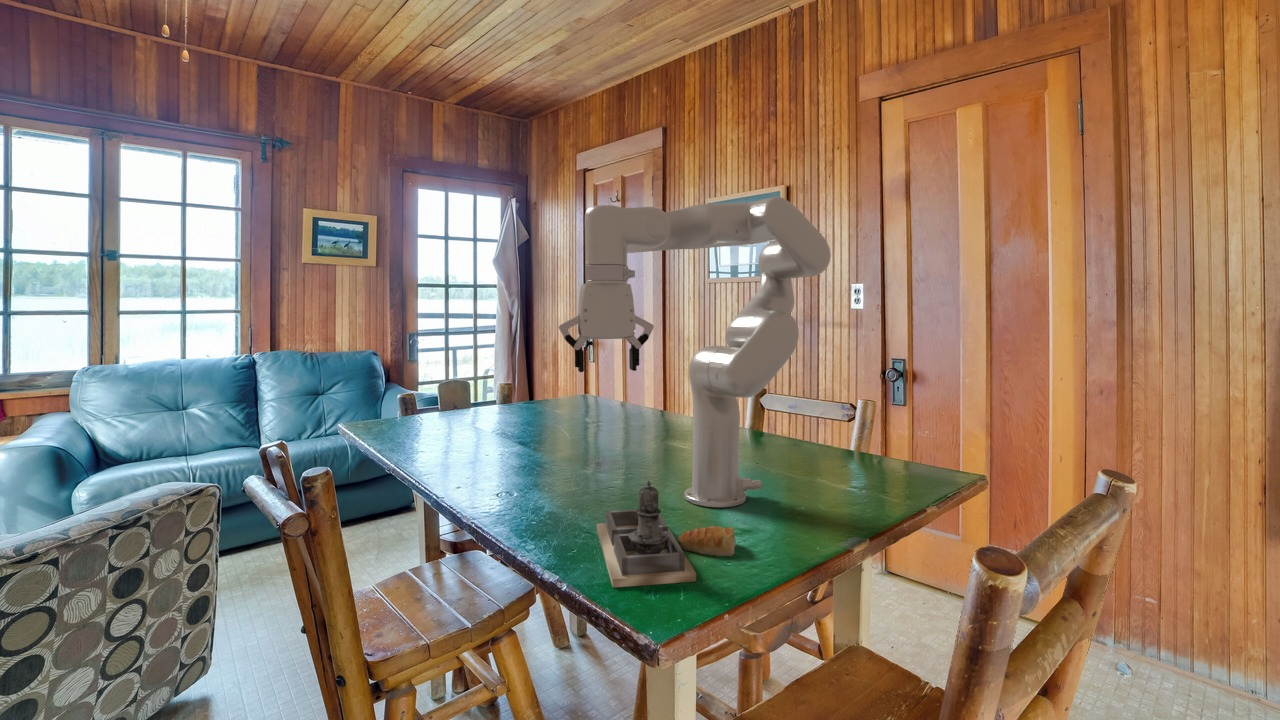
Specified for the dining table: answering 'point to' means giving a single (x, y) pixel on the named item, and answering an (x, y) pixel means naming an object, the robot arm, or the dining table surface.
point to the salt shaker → (648, 524)
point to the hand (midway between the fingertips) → (607, 370)
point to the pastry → (709, 541)
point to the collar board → (640, 567)
